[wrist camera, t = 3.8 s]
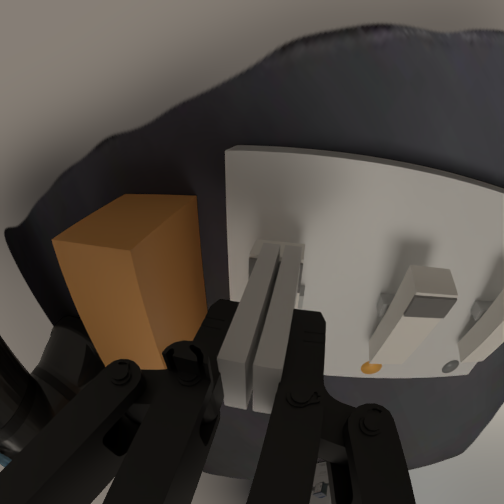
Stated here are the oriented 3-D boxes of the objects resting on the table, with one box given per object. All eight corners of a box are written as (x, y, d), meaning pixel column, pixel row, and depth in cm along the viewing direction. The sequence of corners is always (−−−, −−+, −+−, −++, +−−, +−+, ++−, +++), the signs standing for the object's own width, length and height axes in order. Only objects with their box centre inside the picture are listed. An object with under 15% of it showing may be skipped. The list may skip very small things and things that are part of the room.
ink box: (361, 465, 37) (357, 516, 27) (341, 470, 40) (336, 518, 30) (334, 458, 36) (327, 515, 26) (314, 463, 39) (305, 516, 29)
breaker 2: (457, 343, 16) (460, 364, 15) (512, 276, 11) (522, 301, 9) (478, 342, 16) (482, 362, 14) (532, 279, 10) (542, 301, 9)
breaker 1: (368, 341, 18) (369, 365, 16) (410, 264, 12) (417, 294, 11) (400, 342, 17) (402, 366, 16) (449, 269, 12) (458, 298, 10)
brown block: (150, 313, 25) (109, 372, 18) (125, 194, 19) (51, 239, 13) (209, 325, 24) (175, 396, 17) (196, 195, 18) (130, 250, 12)
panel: (240, 342, 24) (230, 372, 21) (237, 145, 16) (218, 153, 13) (461, 356, 20) (470, 382, 17) (530, 198, 12) (556, 216, 9)
